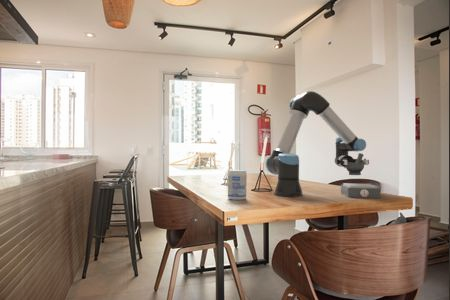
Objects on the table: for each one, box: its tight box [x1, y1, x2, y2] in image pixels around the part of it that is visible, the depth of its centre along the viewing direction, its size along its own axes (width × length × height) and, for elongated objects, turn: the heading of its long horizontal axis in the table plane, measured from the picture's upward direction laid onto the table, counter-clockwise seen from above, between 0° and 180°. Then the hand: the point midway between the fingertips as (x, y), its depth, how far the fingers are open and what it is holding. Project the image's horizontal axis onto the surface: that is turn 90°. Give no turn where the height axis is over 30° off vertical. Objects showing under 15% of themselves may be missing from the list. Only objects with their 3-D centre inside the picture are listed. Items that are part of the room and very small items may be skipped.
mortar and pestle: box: [345, 152, 365, 176], centre depth 157 cm, size 11×9×12 cm
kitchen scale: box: [340, 182, 381, 199], centre depth 156 cm, size 16×17×6 cm
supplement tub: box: [227, 169, 248, 201], centre depth 145 cm, size 10×10×15 cm
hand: (356, 162), depth 153 cm, fingers closed on mortar and pestle, 10 cm apart
